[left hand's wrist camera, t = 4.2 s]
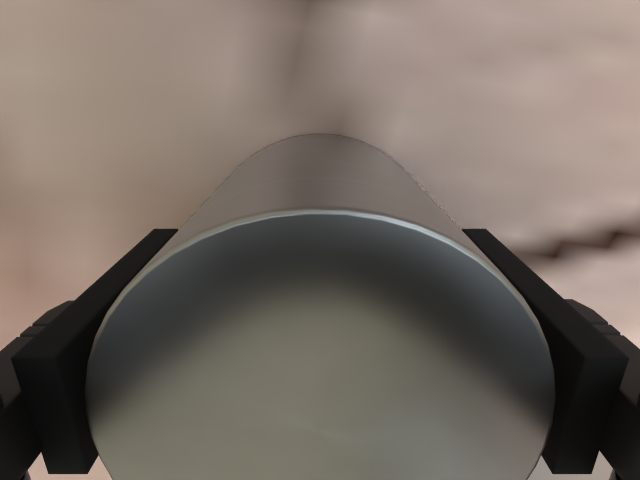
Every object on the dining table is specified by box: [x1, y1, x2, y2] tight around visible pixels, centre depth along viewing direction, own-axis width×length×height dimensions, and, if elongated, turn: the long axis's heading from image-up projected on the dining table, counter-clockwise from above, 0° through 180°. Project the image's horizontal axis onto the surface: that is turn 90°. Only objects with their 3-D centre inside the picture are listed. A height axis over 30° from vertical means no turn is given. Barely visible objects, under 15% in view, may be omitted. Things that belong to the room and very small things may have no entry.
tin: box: [85, 134, 555, 480], centre depth 11 cm, size 8×8×8 cm
